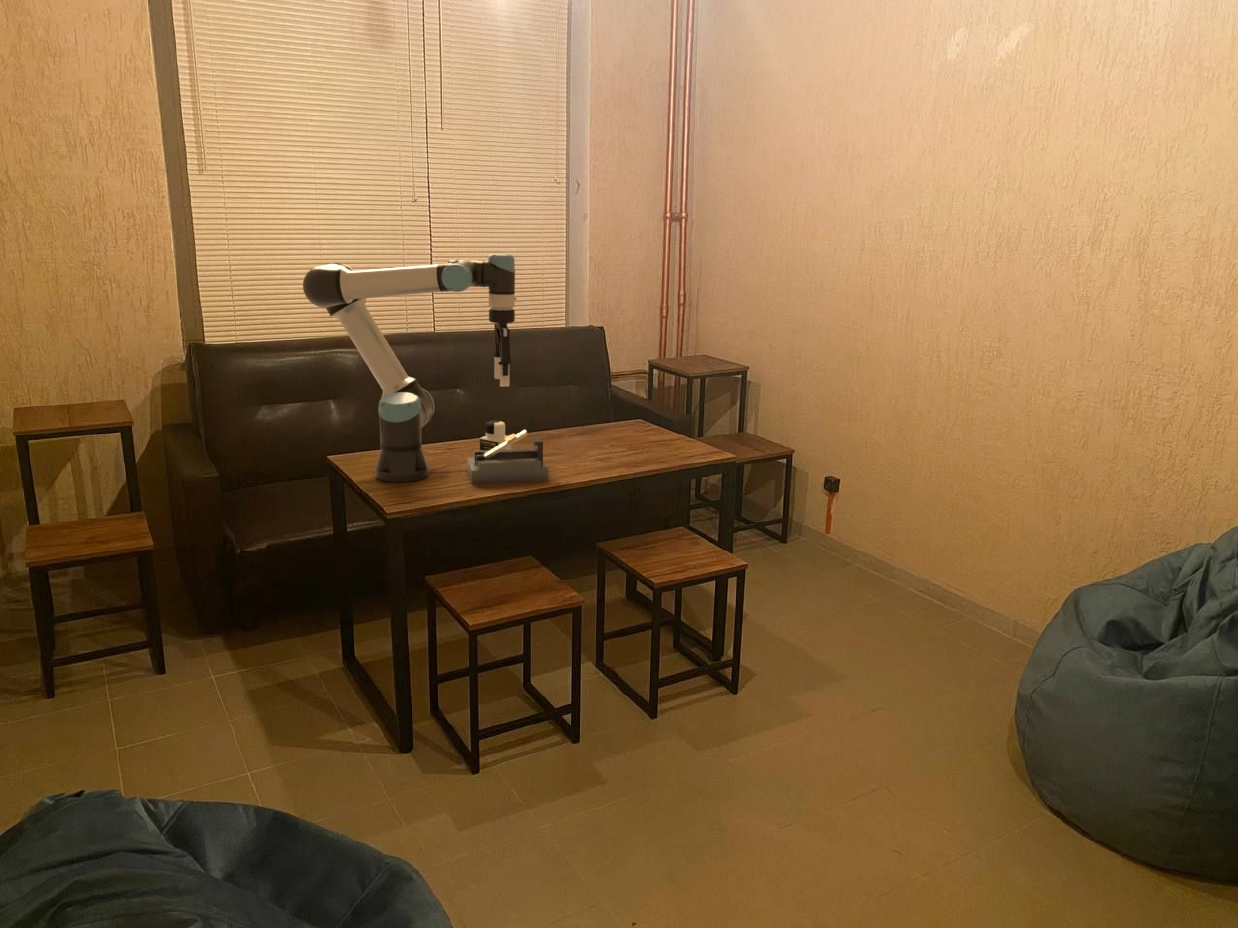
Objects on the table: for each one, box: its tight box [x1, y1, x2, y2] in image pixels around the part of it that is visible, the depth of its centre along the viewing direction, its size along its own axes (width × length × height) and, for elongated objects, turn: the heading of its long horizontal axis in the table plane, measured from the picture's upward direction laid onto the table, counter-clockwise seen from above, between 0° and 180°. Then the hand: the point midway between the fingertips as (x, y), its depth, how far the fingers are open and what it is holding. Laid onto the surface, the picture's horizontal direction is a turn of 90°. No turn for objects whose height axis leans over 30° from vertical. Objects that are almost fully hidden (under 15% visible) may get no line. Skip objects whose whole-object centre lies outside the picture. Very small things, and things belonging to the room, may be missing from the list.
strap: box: [483, 429, 529, 460], centre depth 262 cm, size 17×4×2 cm, turn 104°
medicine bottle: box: [479, 420, 512, 451], centre depth 280 cm, size 7×7×12 cm
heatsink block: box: [466, 437, 549, 485], centre depth 264 cm, size 22×14×10 cm, turn 105°
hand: (501, 382), depth 267 cm, fingers open, 11 cm apart
